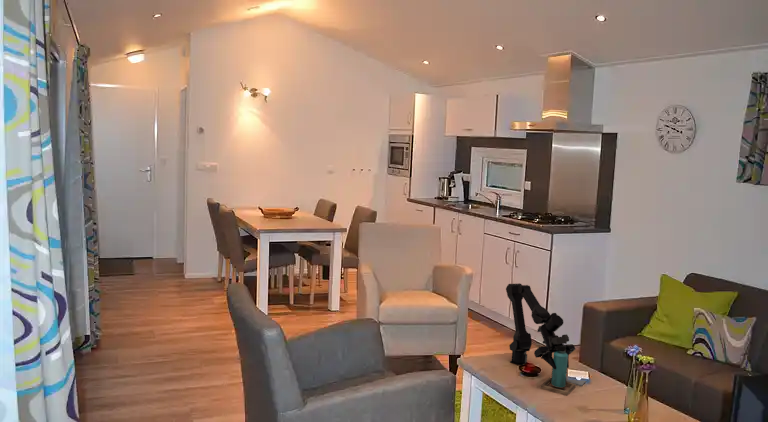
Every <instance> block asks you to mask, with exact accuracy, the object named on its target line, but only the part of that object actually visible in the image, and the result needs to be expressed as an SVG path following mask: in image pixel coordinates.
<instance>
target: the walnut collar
mask: <svg viewBox="0 0 768 422" xmlns="http://www.w3.org/2000/svg"><path fill="white" fill-rule="evenodd" d="M551 380H552V378H551V377H548V378H547V379H546V380H545V381H543V382H542V383H541V384H540V388H539V389H541V390H545V391H548V392H552V393H556V394H559V395H564V396H568V395H570V394H571V392H572V391H574V389H575V388H576V385H575V384H573V383H569V382H566V385H565V387H568V388H567V389H566V390H563V389H561V388H557V387H556V388H555V387H552V386H549V384H550V383H551Z"/></svg>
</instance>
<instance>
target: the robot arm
mask: <svg viewBox="0 0 768 422" xmlns="http://www.w3.org/2000/svg"><path fill="white" fill-rule="evenodd" d="M505 291H506V295H507V298H508V299H509V301H510V302H511V306H512V307H511V308H512V314H513V321H514V323H513V324H514V330H515V332H514V335H513V337H512V340H513V341H512V342H511V343H510V344H509V346H508V347H509V350H510V351H511V360H510V362H509V363H511V364H515V365H518V366H524V365H525V364H526V363H528V354H527V352H530V350H531V349H532V348H531V347H532V344H533V343H532V342H533V340H532V334H531V333H530V332H528V331H527V328H526V320H525V315H524V308H523V307H524V306H523V299H524V301H525V302H526V304H527V306H528V307H529V310H530V311H531V315H530V316H531V319H532V321H533V323H534V324H536V325H538V329H537V333H540V335H541V337H542V339H543V341H542V344H543V345H544V346H538V347H537V349H535V350H534V357H535V358H536V359H537V358H540V359H541V360H543V361H544V362H546V363H547V364H549V366H550V367H551V368H552V367H553V368H554V369H556V365H555V362H554V360H553V357H554V356H553V354H554V353H555V352H556V351H560V350H557V349H556V348H557V344H564V345H566V351H564V352H566V353H567V354H568V361H567V369H568V368H569V367H570V364H569V363H570V361H569V357H570V355H571V354H572V353H573V352H574V351H575V350H576V347H575V344H573V343H569V344H567V343H568V342H570V336H569V335H568V334H567V333H566V334H562V335H561V336H559V335H558V334H557V335H556V333H555V332H557V331H558V330H559V329H560V328H561V327H562V326H563V325H564V318H562V317H561V316H560V315H559V314H557V312H552V313H550V312H549V311H548V309H546V308H545V307H543V306H542V305H541V304H540V302H539V300H538V299H537V297H536V296H535V294H534V293H533V291H532V288H531V286H530V285H529V284H522V283H508V284H507V286H506V287H505ZM523 364H524V365H523Z"/></svg>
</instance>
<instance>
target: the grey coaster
mask: <svg viewBox="0 0 768 422" xmlns="http://www.w3.org/2000/svg"><path fill="white" fill-rule="evenodd" d="M566 382H569V383H573V384H575V386H578V387H583V386H584V385H585V384H586V383H587V381H576V380H568V379H567V378H566ZM585 382H586V383H585ZM584 383H585V384H584Z"/></svg>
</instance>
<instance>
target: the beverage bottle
mask: <svg viewBox="0 0 768 422" xmlns="http://www.w3.org/2000/svg"><path fill="white" fill-rule="evenodd" d="M566 345H567V344H557V348H556V349H557V350H560V351H556V352H555V353H553V356H552V357H553V360H554V362H555V365H556V369H554V368H553V367H552V366H551V377H550V378H552V380H551V382H550V383H551V385H552V386H553V387H554V388H555V387H556V388H565V387H566V386H565V385H566V378H567V377H566V374H568V368H567V361H568V354H567V353H566V352H564V351H566Z"/></svg>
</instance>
